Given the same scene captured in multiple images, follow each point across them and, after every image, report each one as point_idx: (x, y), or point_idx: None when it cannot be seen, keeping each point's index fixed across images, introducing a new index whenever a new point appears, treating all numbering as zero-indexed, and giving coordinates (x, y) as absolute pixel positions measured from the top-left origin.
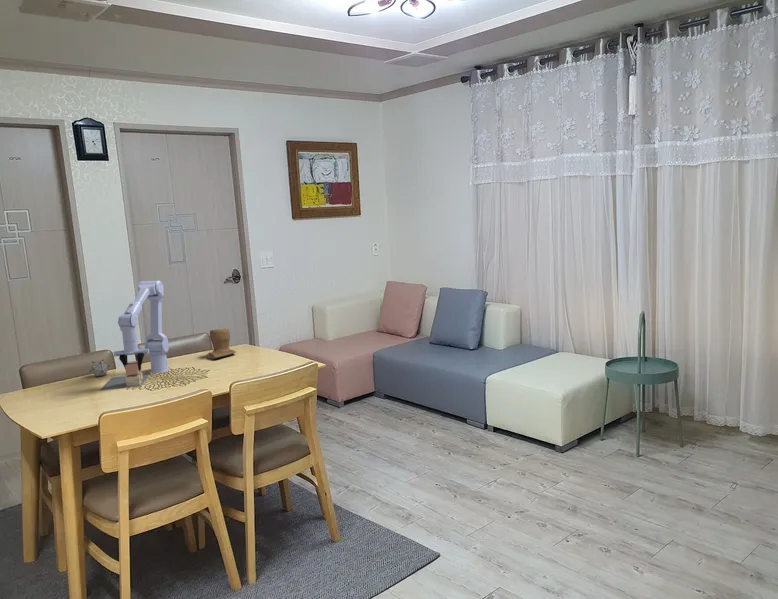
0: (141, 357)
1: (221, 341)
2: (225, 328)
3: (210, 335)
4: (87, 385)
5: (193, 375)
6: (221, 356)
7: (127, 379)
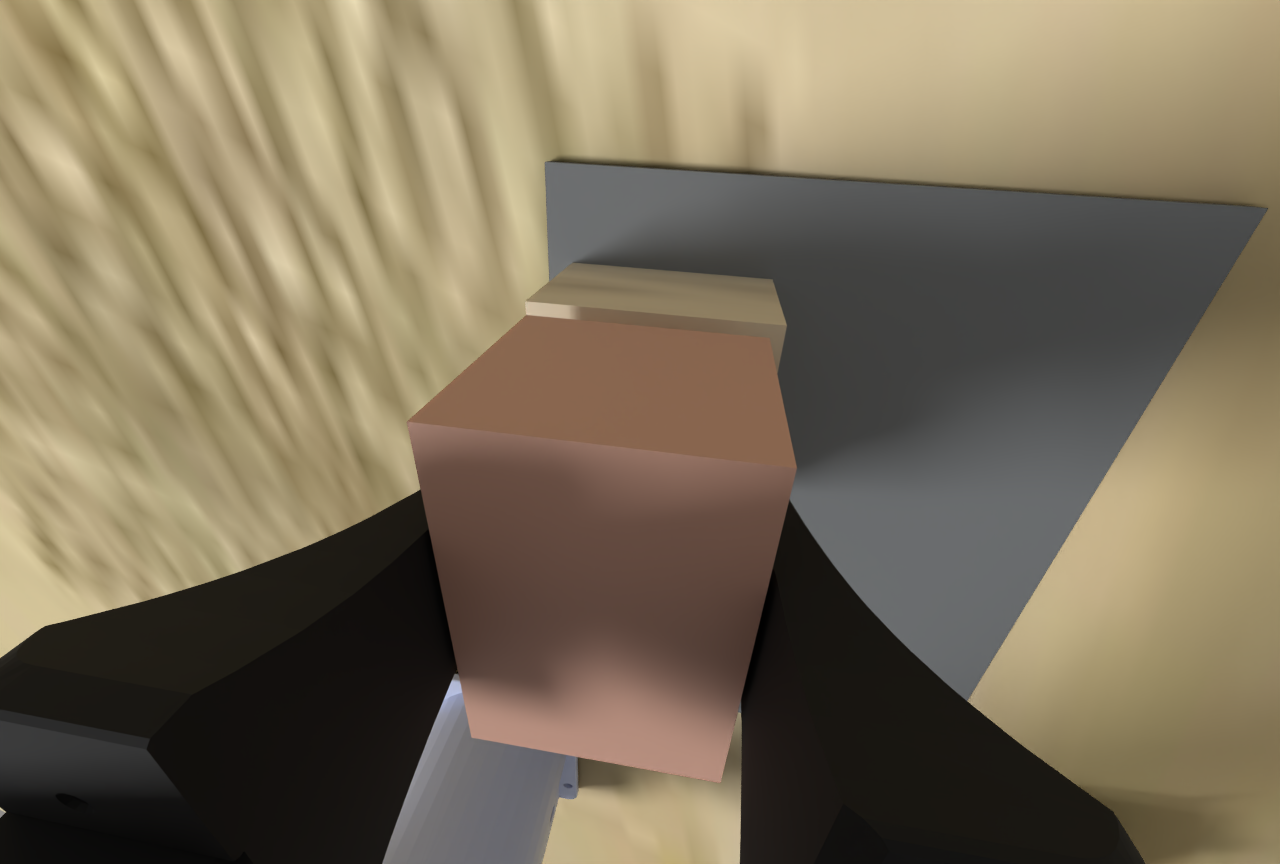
0: (79, 627)
1: None
2: None
3: None
4: (1276, 625)
5: (92, 462)
6: None
7: (751, 311)
